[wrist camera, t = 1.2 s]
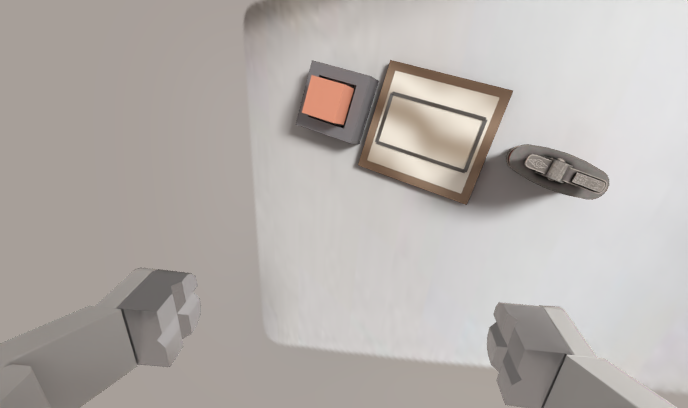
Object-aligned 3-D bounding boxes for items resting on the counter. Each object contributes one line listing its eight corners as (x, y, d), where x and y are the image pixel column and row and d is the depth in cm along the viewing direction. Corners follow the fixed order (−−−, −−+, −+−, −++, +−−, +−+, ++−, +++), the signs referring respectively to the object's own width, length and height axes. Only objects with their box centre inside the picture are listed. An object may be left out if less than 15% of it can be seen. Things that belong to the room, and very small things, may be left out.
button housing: (322, 65, 46) (312, 60, 43) (378, 81, 43) (370, 76, 40) (307, 126, 48) (295, 124, 45) (359, 143, 45) (350, 143, 42)
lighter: (500, 167, 39) (503, 172, 30) (515, 139, 38) (522, 135, 29) (576, 197, 37) (604, 212, 28) (594, 167, 36) (629, 173, 27)
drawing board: (392, 62, 42) (390, 59, 41) (512, 92, 38) (513, 90, 37) (360, 164, 46) (357, 165, 44) (467, 203, 41) (466, 205, 40)
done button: (322, 79, 43) (311, 74, 41) (354, 88, 42) (344, 84, 39) (313, 114, 44) (301, 112, 42) (344, 124, 43) (333, 123, 40)
